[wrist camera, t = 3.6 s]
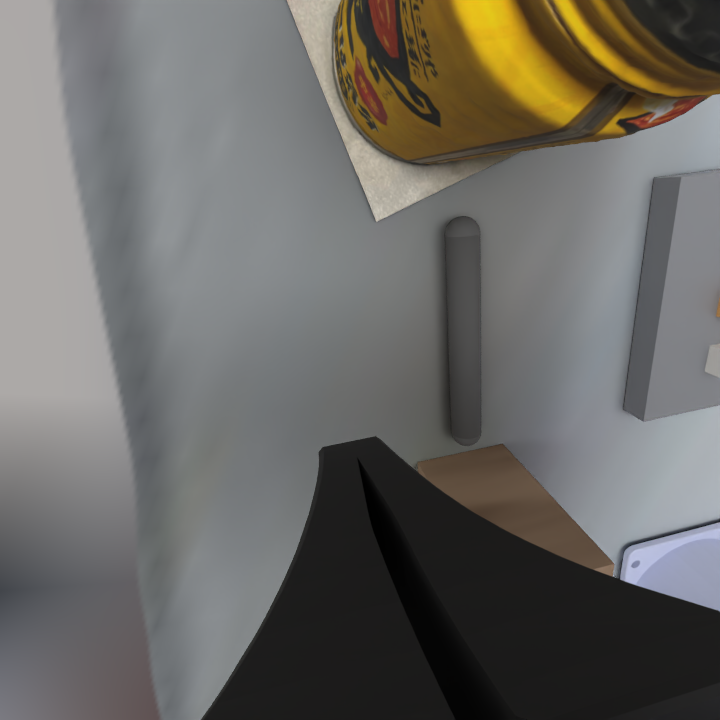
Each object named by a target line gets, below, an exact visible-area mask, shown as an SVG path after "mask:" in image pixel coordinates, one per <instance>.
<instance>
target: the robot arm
mask: <svg viewBox="0 0 720 720" xmlns="http://www.w3.org/2000/svg"><path fill="white" fill-rule="evenodd" d="M201 720H720V522H719V523H715V524H712V525H708V526H704V527H700V528H696V529H693V530H689V531H685V532H681V533H677V534H674V535H670V536H666V537H662V538H659V539H655V540H651V541H647V542H643V543H640V544H636V545H632V546H630V547H628V548H627V549H626V550H625V552H624V556H623V563H622V569H621V575H620V579H617V578H615V577H612V576H609V575H607V574H604V573H601V572H598V571H596V570H593V569H590V568H588V567H585V566H583V565H580V564H578V563H575V562H573V561H571V560H568V559H566V558H563V557H561V556H559V555H556V554H554V553H552V552H550V551H548V550H545V549H543V548H541V547H539V546H537V545H535V544H532V543H530V542H528V541H526V540H524V539H522V538H520V537H518V536H516V535H514V534H512V533H510V532H508V531H506V530H504V529H502V528H501V527H499V526H497V525H495V524H494V523H492V522H490V521H488V520H486V519H485V518H483V517H481V516H479V515H478V514H476V513H474V512H473V511H471V510H469V509H468V508H466V507H465V506H463V505H462V504H460V503H459V502H457V501H456V500H454V499H453V498H452V497H450V496H449V495H447V494H446V493H444V492H443V491H442V490H440V489H439V488H438V487H436V486H435V485H434V484H432V483H431V482H430V481H428V480H427V479H426V478H425V477H423V476H422V475H421V474H419V473H418V472H417V471H416V470H414V469H413V468H412V467H411V466H410V465H408V464H407V463H406V462H405V461H404V460H403V459H401V458H400V457H399V456H398V455H397V454H396V453H395V452H393V451H392V450H391V449H390V448H389V447H388V446H387V445H386V444H385V443H384V442H383V441H382V440H380V439H379V438H377V437H376V436H375V437H370V438H365V439H360V440H356V441H351V442H346V443H341V444H336V445H331V446H326V447H323V448H322V449H321V450H320V451H319V470H318V477H317V483H316V488H315V492H314V496H313V500H312V504H311V508H310V512H309V515H308V518H307V521H306V524H305V527H304V530H303V533H302V536H301V539H300V542H299V545H298V547H297V550H296V553H295V555H294V558H293V560H292V562H291V565H290V567H289V569H288V572H287V574H286V576H285V578H284V581H283V583H282V585H281V587H280V589H279V591H278V593H277V595H276V597H275V599H274V601H273V603H272V605H271V607H270V609H269V611H268V613H267V615H266V617H265V619H264V620H263V622H262V624H261V626H260V628H259V630H258V631H257V633H256V635H255V637H254V638H253V640H252V642H251V643H250V645H249V646H248V648H247V650H246V651H245V653H244V655H243V656H242V658H241V659H240V661H239V663H238V664H237V666H236V668H235V669H234V671H233V672H232V674H231V676H230V677H229V679H228V681H227V682H226V684H225V685H224V687H223V689H222V690H221V692H220V693H219V695H218V696H217V698H216V699H215V701H214V702H213V704H212V705H211V706H210V708H209V709H208V711H207V712H206V713H205V715H204V716H203V718H202V719H201Z"/></svg>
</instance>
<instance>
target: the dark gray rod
mask: <svg viewBox="0 0 720 720" xmlns="http://www.w3.org/2000/svg"><path fill="white" fill-rule="evenodd" d="M445 251H446V281H447V311H448V341H449V371H450V400H451V430H452V436H453V438H454V439H455V441H456V442H457V443H459V444H461V445H464V446H470V445H473V444H475V443H476V442H477V441H478V440H479V438H480V436H481V287H480V228H479V225H478V224H477V222H476V221H475V220H473V219H472V218H470V217H466V216H461V217H457V218H455V219H453V220H452V221H451V222H450V223H449V224H448V226H447V228H446V231H445Z"/></svg>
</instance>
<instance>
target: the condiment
mask: <svg viewBox="0 0 720 720" xmlns="http://www.w3.org/2000/svg"><path fill="white" fill-rule="evenodd" d="M287 2H288V5H289V7H290V10H291V12H292V14H293V17H294V19H295V23H296V25H297V28H298V30H299V32H300V35H301V37H302V39H303V42H304V45H305V47H306V50H307V53H308V55H309V58H310V60H311V63H312V65H313V68H314V70H315V73H316V75H317V77H318V80H319V83H320V85H321V88H322V90H323V93H324V95H325V98H326V100H327V102H328V105H329V107H330V110H331V112H332V114H333V117H334V119H335V122H336V124H337V127H338V129H339V132H340V134H341V136H342V139H343V142H344V144H345V146H346V149H347V151H348V154H349V156H350V159H351V161H352V163H353V165H354V168H355V171H356V173H357V175H358V176H359V179H360V182H361V184H362V187H363V190H364V192H365V194H366V197H367V199H368V202H369V204H370V207H371V209H372V212H373V214H374V217H375V219H376V222H377V221H379V220H381V219H383V218H385V217H387V216H389V215H391V214H393V213H395V212H397V211H399V210H401V209H403V208H405V207H407V206H409V205H411V204H413V203H415V202H417V201H419V200H421V199H423V198H426V197H428V196H430V195H432V194H434V193H436V192H438V191H440V190H442V189H444V188H446V187H448V186H450V185H452V184H454V183H456V182H458V181H460V180H463V179H465V178H467V177H469V176H471V175H473V174H475V173H477V172H479V171H481V170H484V169H486V168H488V167H490V166H491V165H494V164H496V163H498V162H501V161H503V160H505V159H507V158H509V157H511V156H513V155H514V154H517V153H519V152H521V151H527V150H534V149H539V148H545V147H555V146H563V145H570V144H578V143H582V142H597V141H600V140H604V139H612V138H620V137H623V136H627V135H631V134H634V133H635V132H637V131H640V130H644V129H648V128H651V127H655V126H657V125H660V124H663V123H666V122H668V121H671V120H672V119H674V118H676V117H678V116H680V115H682V114H684V113H686V112H687V111H689V110H690V109H692V108H693V107H694V106H696V105H697V104H699V103H701V102H702V101H704V100H705V99H707V98H709V97H710V96H712V95H715V94H720V0H287Z"/></svg>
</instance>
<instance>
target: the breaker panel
mask: <svg viewBox="0 0 720 720" xmlns="http://www.w3.org/2000/svg"><path fill="white" fill-rule="evenodd" d="M718 405H720V169H717V170H710V171H702V172H694V173H686V174H679V175H671V176H663V177H656V178H654V183H653V191H652V198H651V206H650V213H649V221H648V228H647V236H646V243H645V251H644V258H643V266H642V273H641V281H640V288H639V296H638V303H637V311H636V318H635V326H634V333H633V341H632V348H631V356H630V363H629V371H628V378H627V386H626V393H625V401H624V408H623V409H624V410H625V411H627V412H629V413H630V414H632V415H633V416H635V417H637V418H638V419H640V420H642V421H643V422H645V421H649V420H654V419H658V418H663V417H667V416H672V415H676V414H681V413H686V412H690V411H695V410H699V409H704V408H708V407H713V406H718Z"/></svg>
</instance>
